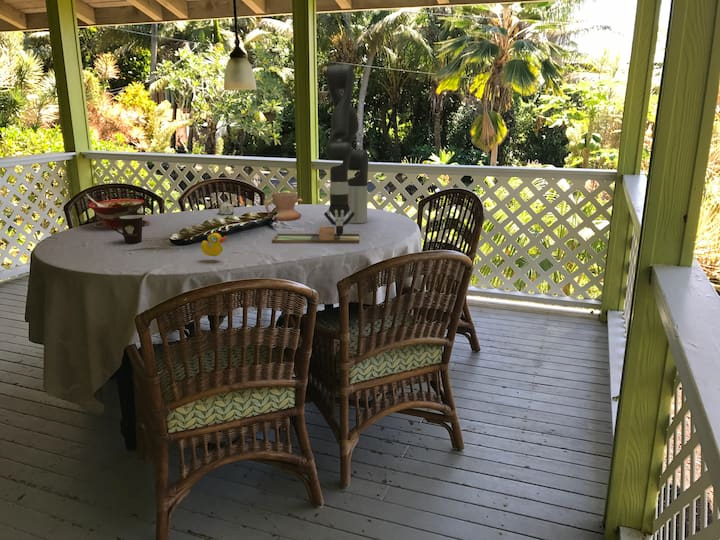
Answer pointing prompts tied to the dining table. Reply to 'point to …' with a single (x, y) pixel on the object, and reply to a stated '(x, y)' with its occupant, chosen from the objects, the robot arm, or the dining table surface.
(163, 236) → the dining table surface
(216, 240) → the duckling
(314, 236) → the trap pads
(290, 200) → the ceramic jug
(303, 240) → the flat tray
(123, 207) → the stew
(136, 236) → the coffee mug
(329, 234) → the terracotta block
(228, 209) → the grey rounded lump
